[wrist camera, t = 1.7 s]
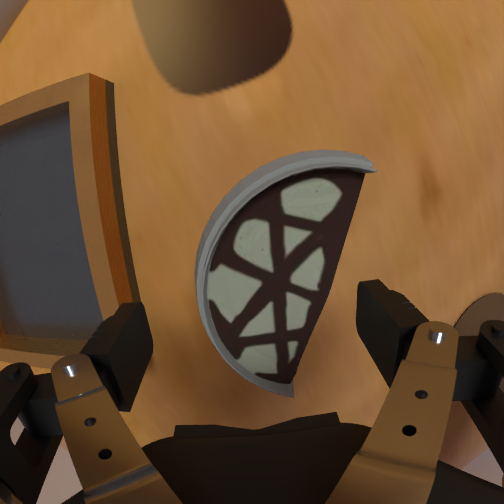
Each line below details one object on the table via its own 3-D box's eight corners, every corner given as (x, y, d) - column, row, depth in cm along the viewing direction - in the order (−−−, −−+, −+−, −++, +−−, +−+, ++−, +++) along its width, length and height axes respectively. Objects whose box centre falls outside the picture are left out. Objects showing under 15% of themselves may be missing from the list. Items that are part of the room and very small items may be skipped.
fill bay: (113, 83, 19) (89, 72, 15) (151, 347, 26) (138, 376, 22) (-34, 136, 19) (-62, 139, 16) (10, 338, 26) (-11, 358, 22)
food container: (236, 129, 21) (225, 111, 11) (324, 153, 21) (381, 157, 11) (197, 295, 24) (169, 381, 15) (276, 313, 25) (290, 404, 15)
